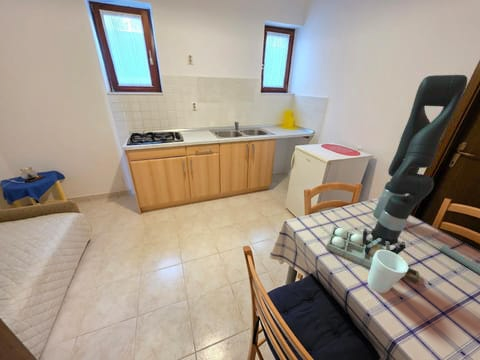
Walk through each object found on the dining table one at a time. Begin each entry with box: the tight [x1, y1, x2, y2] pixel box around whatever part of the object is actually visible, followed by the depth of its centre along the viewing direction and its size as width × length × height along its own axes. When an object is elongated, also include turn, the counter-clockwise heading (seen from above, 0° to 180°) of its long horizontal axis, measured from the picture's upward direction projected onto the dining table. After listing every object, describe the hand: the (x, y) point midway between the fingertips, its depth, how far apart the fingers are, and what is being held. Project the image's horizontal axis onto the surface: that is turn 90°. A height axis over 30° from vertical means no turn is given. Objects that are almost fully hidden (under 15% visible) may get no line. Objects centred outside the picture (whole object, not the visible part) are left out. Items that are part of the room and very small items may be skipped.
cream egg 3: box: [351, 233, 363, 245], centre depth 88 cm, size 5×5×5 cm
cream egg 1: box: [335, 227, 347, 239], centre depth 91 cm, size 5×5×5 cm
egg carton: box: [325, 226, 386, 269], centre depth 86 cm, size 14×21×3 cm
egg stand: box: [401, 267, 421, 285], centre depth 75 cm, size 5×5×2 cm
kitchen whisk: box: [402, 220, 480, 275], centre depth 87 cm, size 6×34×6 cm, turn 27°
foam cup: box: [367, 249, 410, 294], centre depth 69 cm, size 10×9×13 cm
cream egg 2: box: [332, 237, 344, 248], centre depth 86 cm, size 5×5×5 cm
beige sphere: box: [370, 245, 384, 256], centre depth 78 cm, size 5×5×5 cm
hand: (374, 255), depth 79 cm, fingers closed on beige sphere, 5 cm apart
